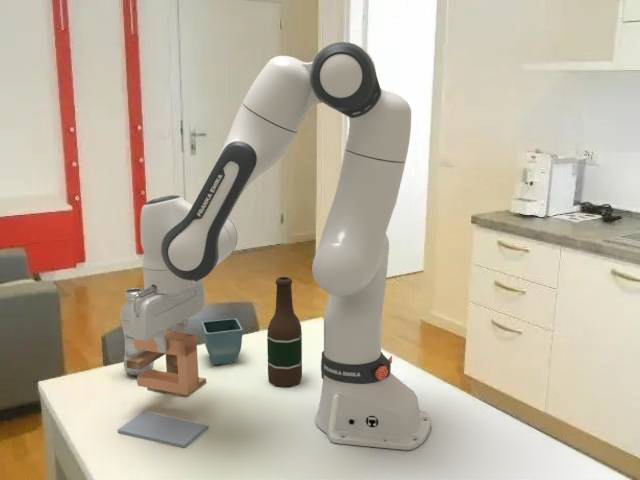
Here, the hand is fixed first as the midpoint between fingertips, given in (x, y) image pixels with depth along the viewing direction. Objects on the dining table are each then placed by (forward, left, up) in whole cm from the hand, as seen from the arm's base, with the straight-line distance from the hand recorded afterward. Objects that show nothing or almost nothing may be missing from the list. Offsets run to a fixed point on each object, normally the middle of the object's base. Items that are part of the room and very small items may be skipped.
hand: (171, 346), depth 129 cm
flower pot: (+5, -27, -14) cm, 31 cm away
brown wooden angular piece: (+7, -5, -14) cm, 16 cm away
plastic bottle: (+19, -13, -14) cm, 27 cm away
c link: (+1, 0, -9) cm, 9 cm away
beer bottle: (-14, -22, -14) cm, 30 cm away
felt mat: (-2, +7, -14) cm, 16 cm away
